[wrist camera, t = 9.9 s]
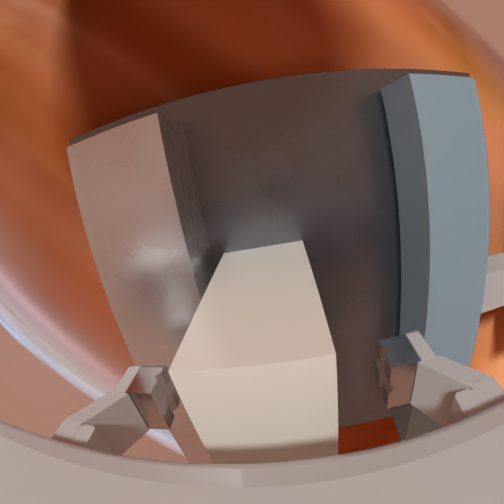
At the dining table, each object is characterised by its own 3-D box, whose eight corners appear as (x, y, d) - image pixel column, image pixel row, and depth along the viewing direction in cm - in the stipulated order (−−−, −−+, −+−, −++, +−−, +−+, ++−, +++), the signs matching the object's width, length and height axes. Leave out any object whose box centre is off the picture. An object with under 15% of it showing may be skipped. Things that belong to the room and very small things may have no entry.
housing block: (302, 240, 13) (336, 354, 6) (316, 351, 15) (337, 486, 7) (223, 253, 14) (168, 371, 6) (249, 360, 15) (232, 494, 8)
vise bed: (454, 78, 11) (504, 63, 7) (449, 382, 17) (473, 424, 13) (85, 139, 14) (30, 141, 9) (182, 423, 20) (167, 470, 15)
